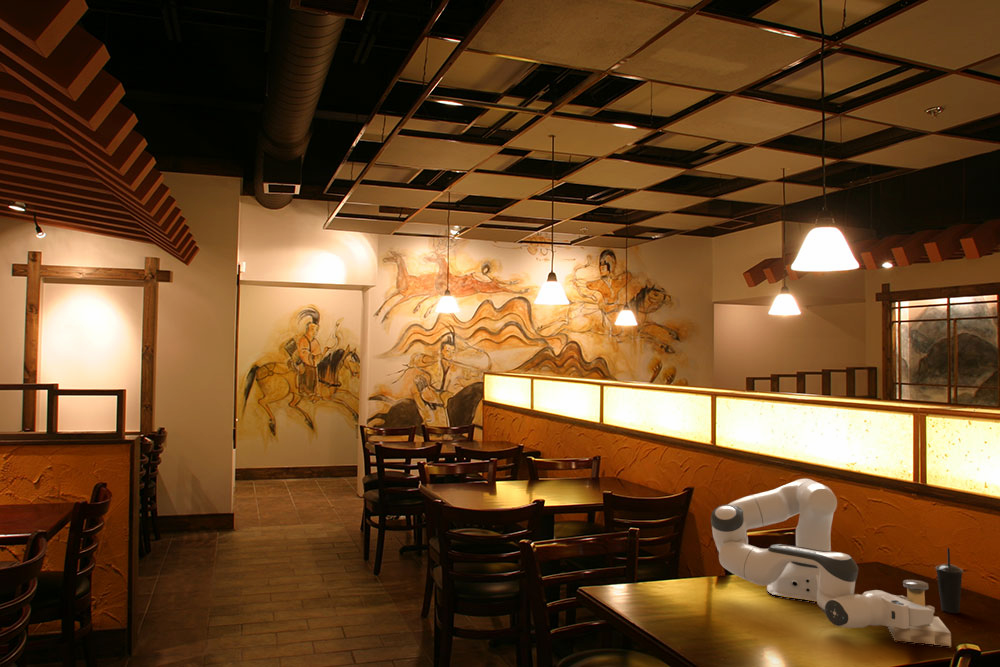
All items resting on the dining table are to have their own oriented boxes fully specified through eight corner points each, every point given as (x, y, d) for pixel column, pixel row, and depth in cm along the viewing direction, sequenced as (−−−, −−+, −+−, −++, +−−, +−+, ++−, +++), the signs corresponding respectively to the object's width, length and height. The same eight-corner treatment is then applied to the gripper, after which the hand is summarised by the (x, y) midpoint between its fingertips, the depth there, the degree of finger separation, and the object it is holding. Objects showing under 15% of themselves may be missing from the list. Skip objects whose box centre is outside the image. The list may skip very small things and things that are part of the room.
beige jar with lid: (907, 638, 206) (905, 584, 207) (902, 630, 212) (901, 578, 213) (932, 641, 204) (930, 586, 205) (927, 633, 210) (925, 580, 211)
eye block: (894, 641, 204) (894, 626, 204) (885, 625, 217) (885, 611, 217) (951, 647, 199) (950, 632, 199) (938, 630, 212) (938, 616, 213)
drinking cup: (964, 617, 224) (962, 552, 225) (936, 612, 228) (934, 549, 230) (964, 610, 231) (962, 547, 232) (936, 606, 235) (934, 544, 236)
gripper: (853, 608, 215) (890, 604, 219) (909, 631, 195) (949, 626, 199) (852, 586, 215) (889, 583, 219) (908, 607, 196) (948, 603, 199)
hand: (918, 604), depth 209 cm, fingers open, 8 cm apart
